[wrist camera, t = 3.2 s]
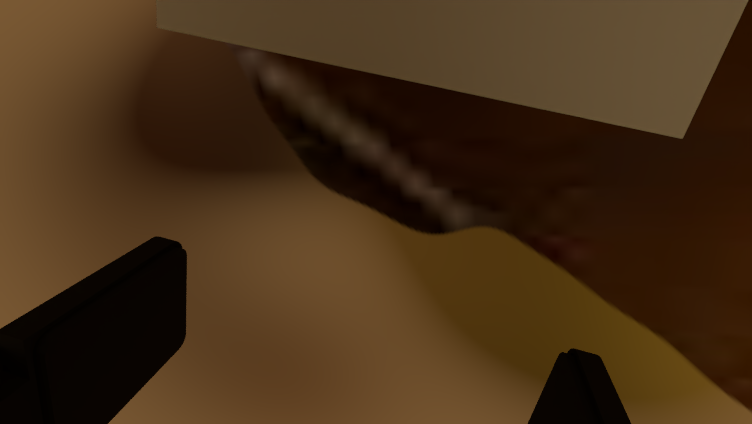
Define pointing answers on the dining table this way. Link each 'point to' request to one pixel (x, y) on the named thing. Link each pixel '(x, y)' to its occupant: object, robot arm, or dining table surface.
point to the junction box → (499, 47)
